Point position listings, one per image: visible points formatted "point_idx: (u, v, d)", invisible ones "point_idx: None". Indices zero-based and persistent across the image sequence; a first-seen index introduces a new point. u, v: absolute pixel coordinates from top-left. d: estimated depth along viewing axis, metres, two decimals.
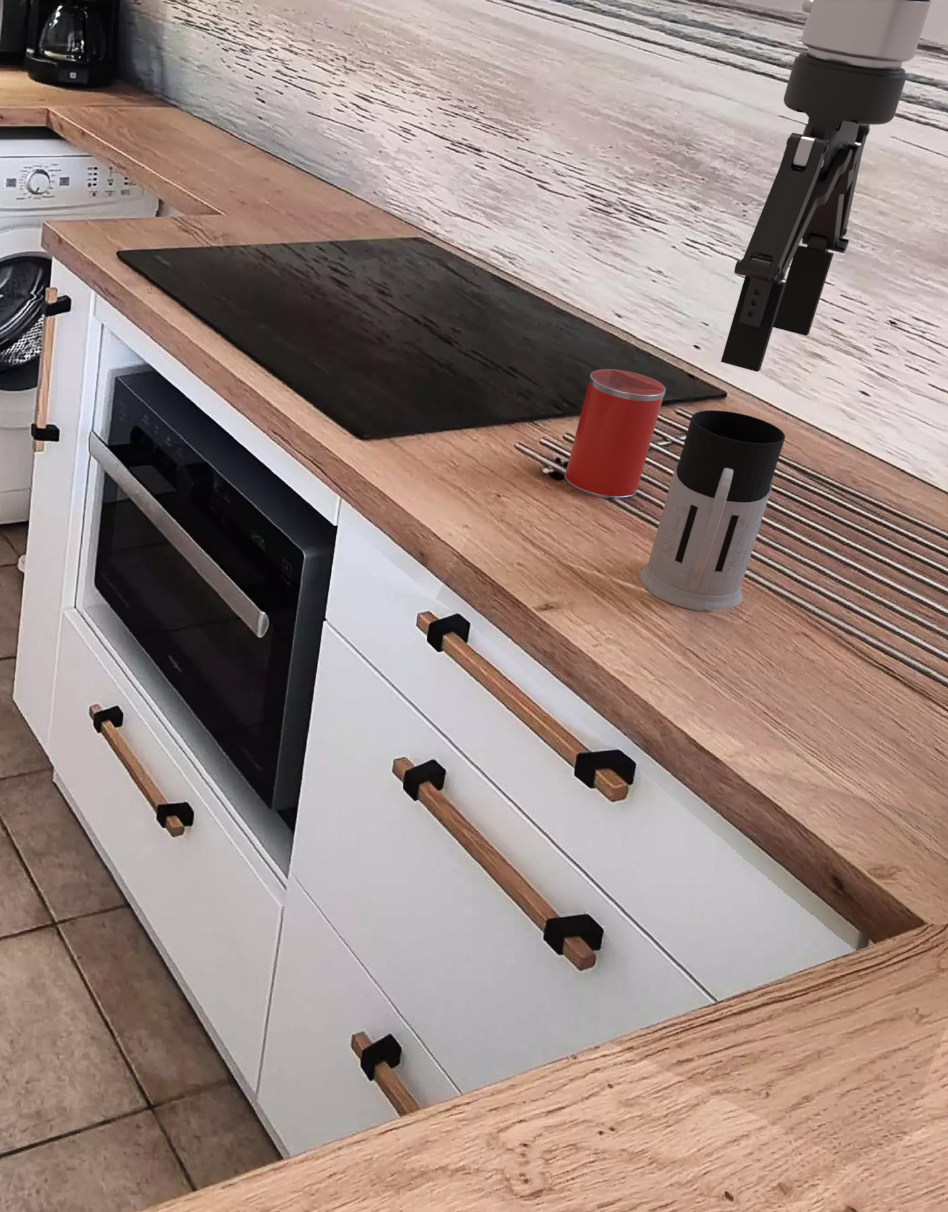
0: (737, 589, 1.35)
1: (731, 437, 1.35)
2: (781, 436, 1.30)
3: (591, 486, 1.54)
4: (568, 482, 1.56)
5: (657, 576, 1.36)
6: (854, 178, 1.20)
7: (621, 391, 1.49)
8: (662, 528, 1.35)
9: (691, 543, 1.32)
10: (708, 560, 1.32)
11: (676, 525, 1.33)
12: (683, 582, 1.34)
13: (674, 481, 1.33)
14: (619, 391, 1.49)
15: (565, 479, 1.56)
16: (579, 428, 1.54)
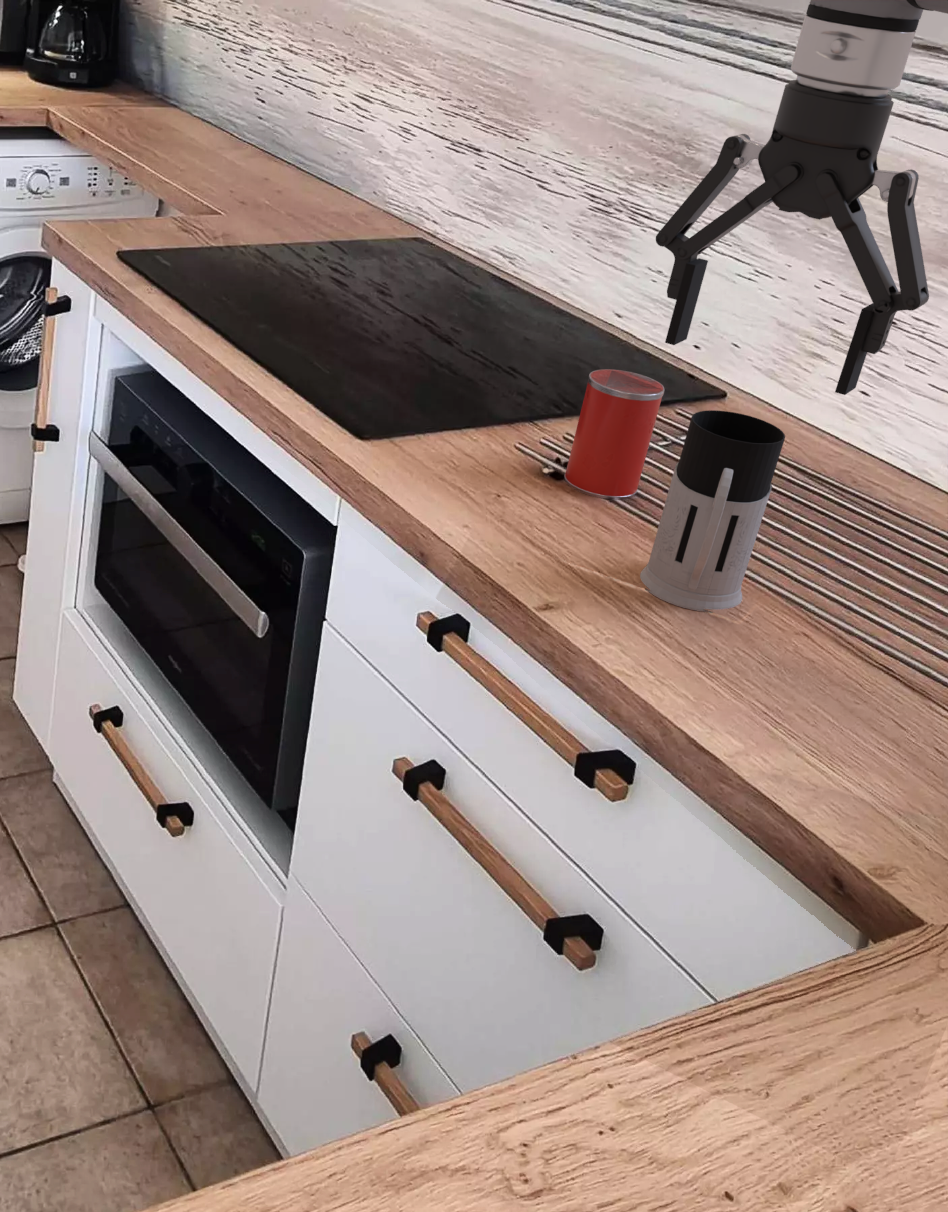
0: (737, 589, 1.35)
1: (731, 437, 1.35)
2: (781, 436, 1.30)
3: (591, 486, 1.54)
4: (567, 482, 1.56)
5: (657, 576, 1.36)
6: None
7: (620, 391, 1.49)
8: (662, 528, 1.35)
9: (691, 543, 1.32)
10: (708, 560, 1.32)
11: (676, 525, 1.33)
12: (683, 582, 1.34)
13: (674, 481, 1.33)
14: (618, 391, 1.49)
15: (565, 479, 1.56)
16: (578, 428, 1.54)
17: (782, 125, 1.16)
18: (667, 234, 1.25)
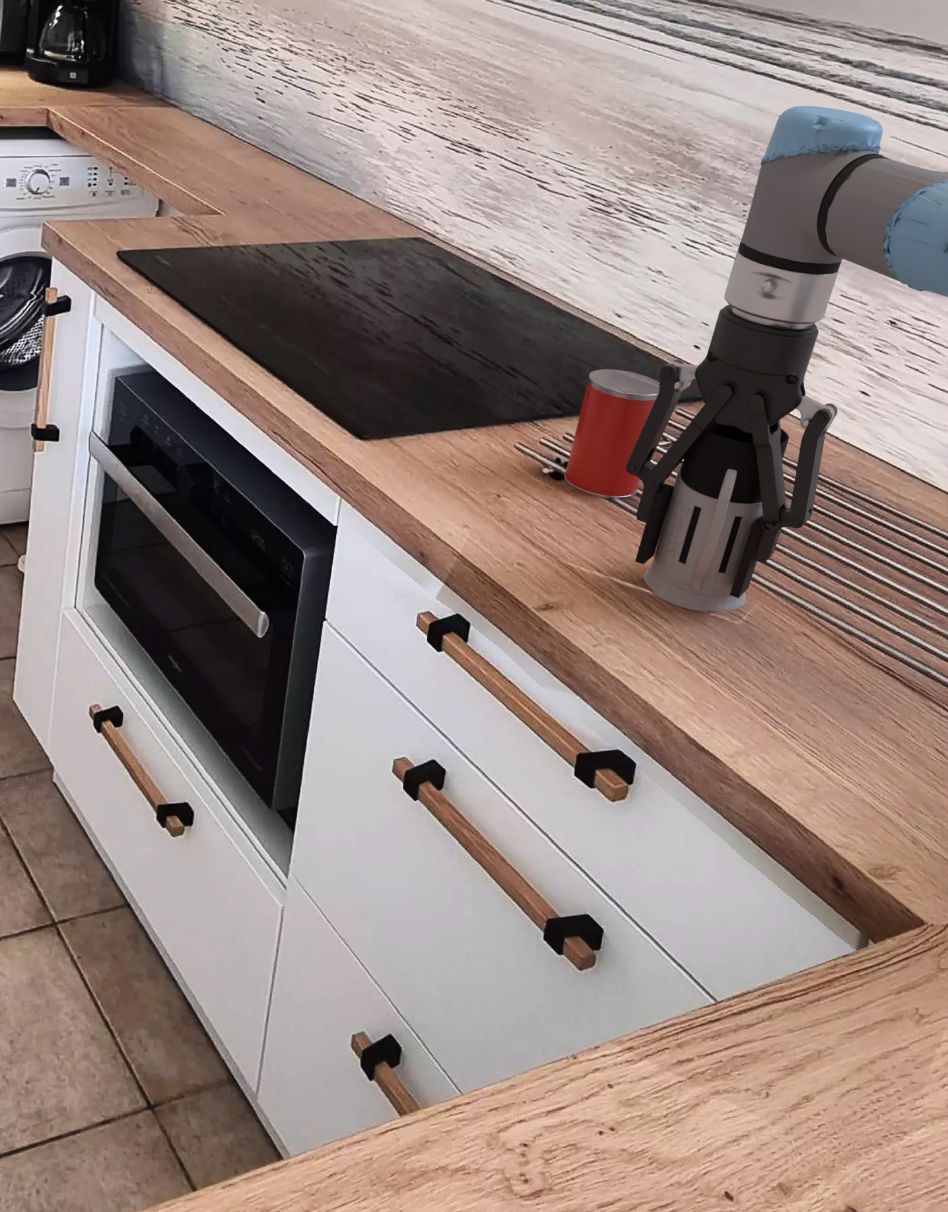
0: None
1: (735, 438, 1.35)
2: (785, 437, 1.30)
3: (591, 486, 1.54)
4: (567, 482, 1.56)
5: (661, 578, 1.36)
6: None
7: (620, 391, 1.49)
8: (666, 529, 1.35)
9: (694, 544, 1.32)
10: (711, 561, 1.32)
11: (680, 526, 1.33)
12: (686, 583, 1.33)
13: (678, 482, 1.33)
14: (618, 391, 1.49)
15: (565, 479, 1.56)
16: (578, 428, 1.54)
17: (717, 350, 1.24)
18: (635, 463, 1.33)
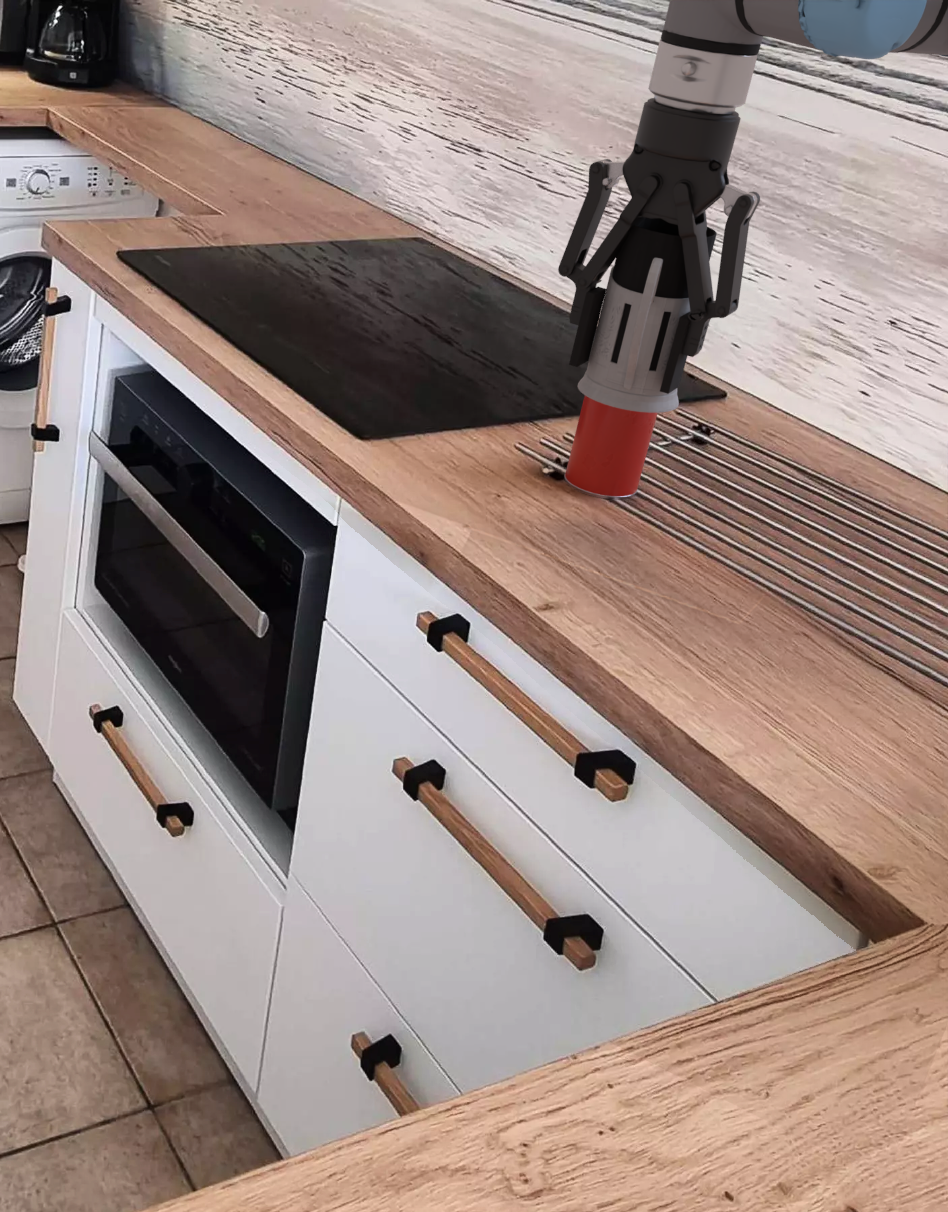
0: (672, 391, 1.37)
1: None
2: (713, 234, 1.33)
3: (591, 486, 1.54)
4: (567, 482, 1.56)
5: (594, 380, 1.38)
6: None
7: None
8: (598, 331, 1.37)
9: (625, 342, 1.34)
10: (642, 359, 1.34)
11: (611, 326, 1.35)
12: (618, 383, 1.36)
13: (609, 283, 1.35)
14: None
15: (565, 479, 1.56)
16: (578, 428, 1.54)
17: (642, 140, 1.27)
18: (567, 264, 1.35)
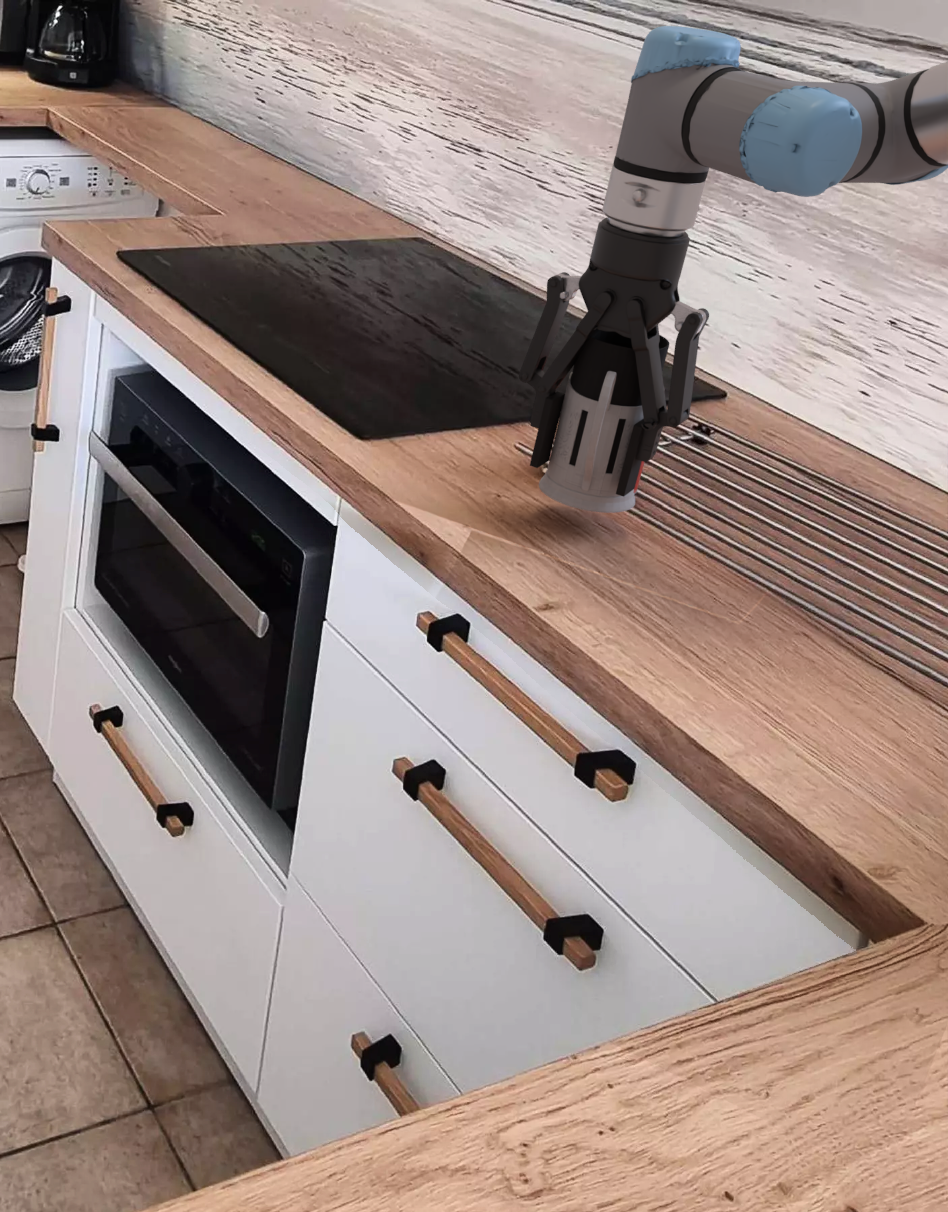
0: None
1: None
2: (666, 344, 1.39)
3: None
4: None
5: (554, 481, 1.44)
6: None
7: None
8: (558, 434, 1.43)
9: (583, 446, 1.40)
10: (599, 462, 1.40)
11: (569, 430, 1.41)
12: (577, 484, 1.42)
13: (568, 389, 1.41)
14: None
15: None
16: None
17: (596, 259, 1.33)
18: (527, 371, 1.41)
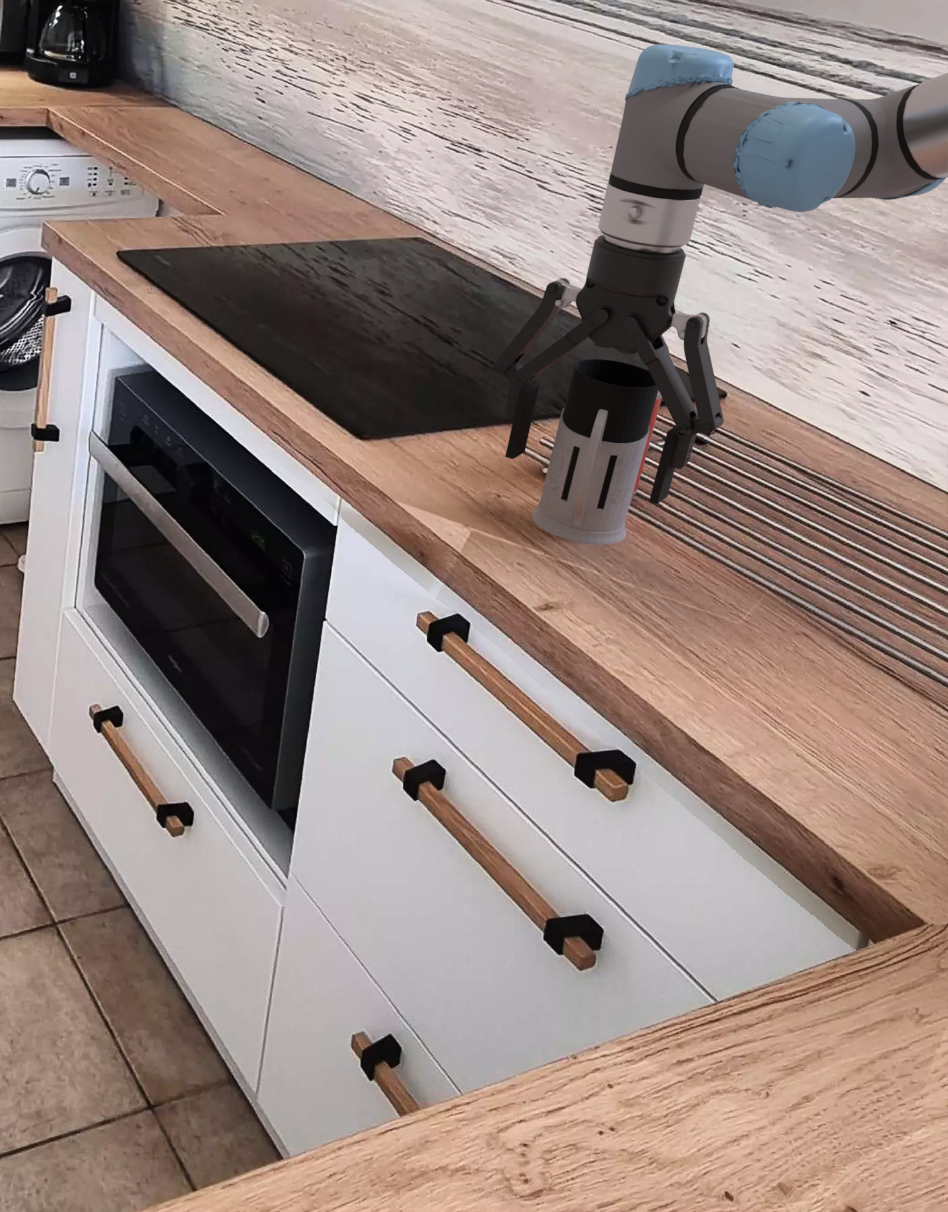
0: (620, 526, 1.44)
1: (615, 384, 1.45)
2: None
3: None
4: None
5: (546, 515, 1.45)
6: None
7: None
8: (550, 469, 1.44)
9: (574, 482, 1.42)
10: (590, 498, 1.42)
11: (561, 465, 1.43)
12: (568, 519, 1.43)
13: (560, 424, 1.43)
14: None
15: None
16: None
17: (593, 276, 1.33)
18: (502, 364, 1.42)
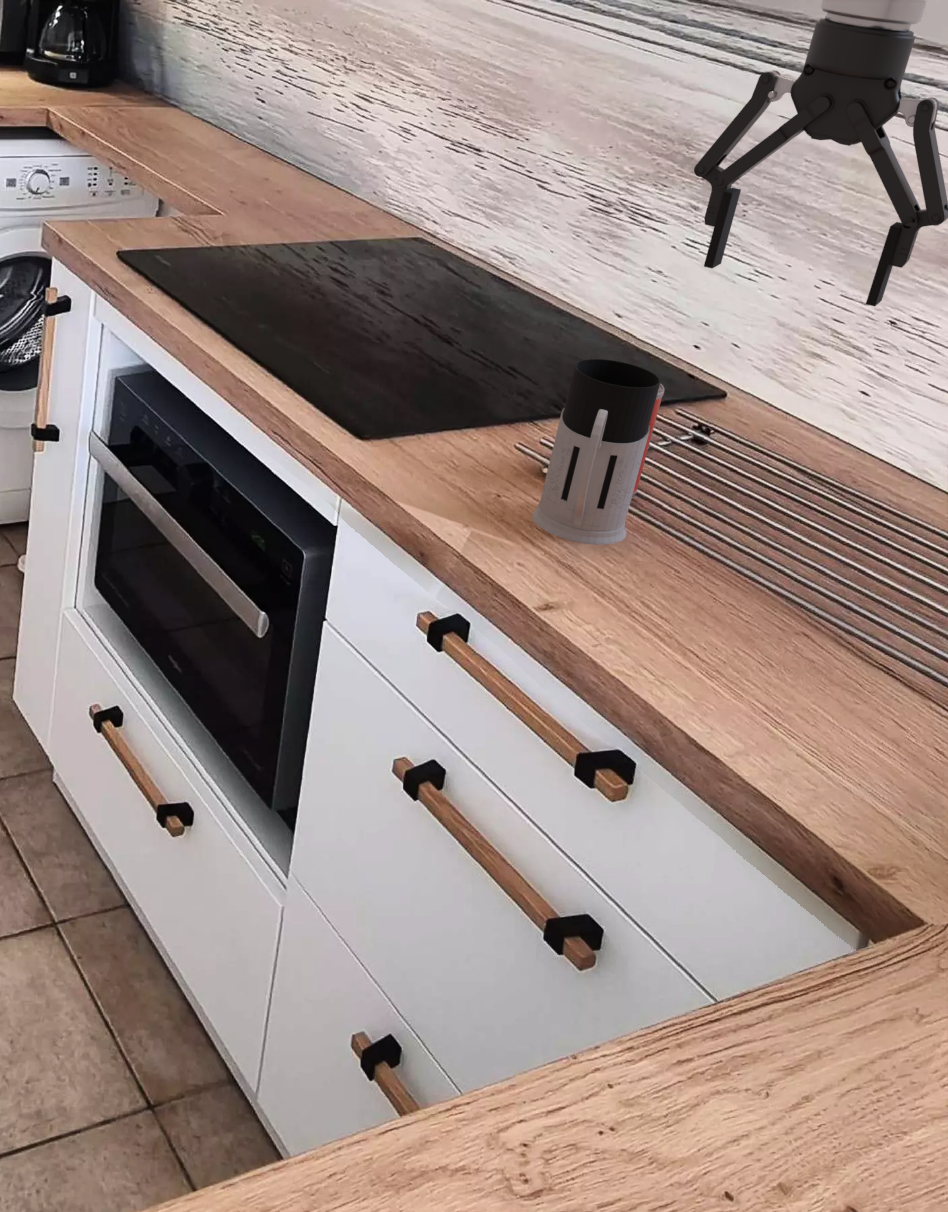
0: (620, 526, 1.44)
1: (615, 384, 1.45)
2: (657, 382, 1.40)
3: None
4: None
5: (546, 515, 1.45)
6: None
7: None
8: (550, 469, 1.44)
9: (574, 482, 1.42)
10: (590, 498, 1.42)
11: (561, 465, 1.43)
12: (568, 519, 1.43)
13: (560, 424, 1.43)
14: None
15: None
16: None
17: (816, 59, 1.27)
18: (705, 165, 1.35)
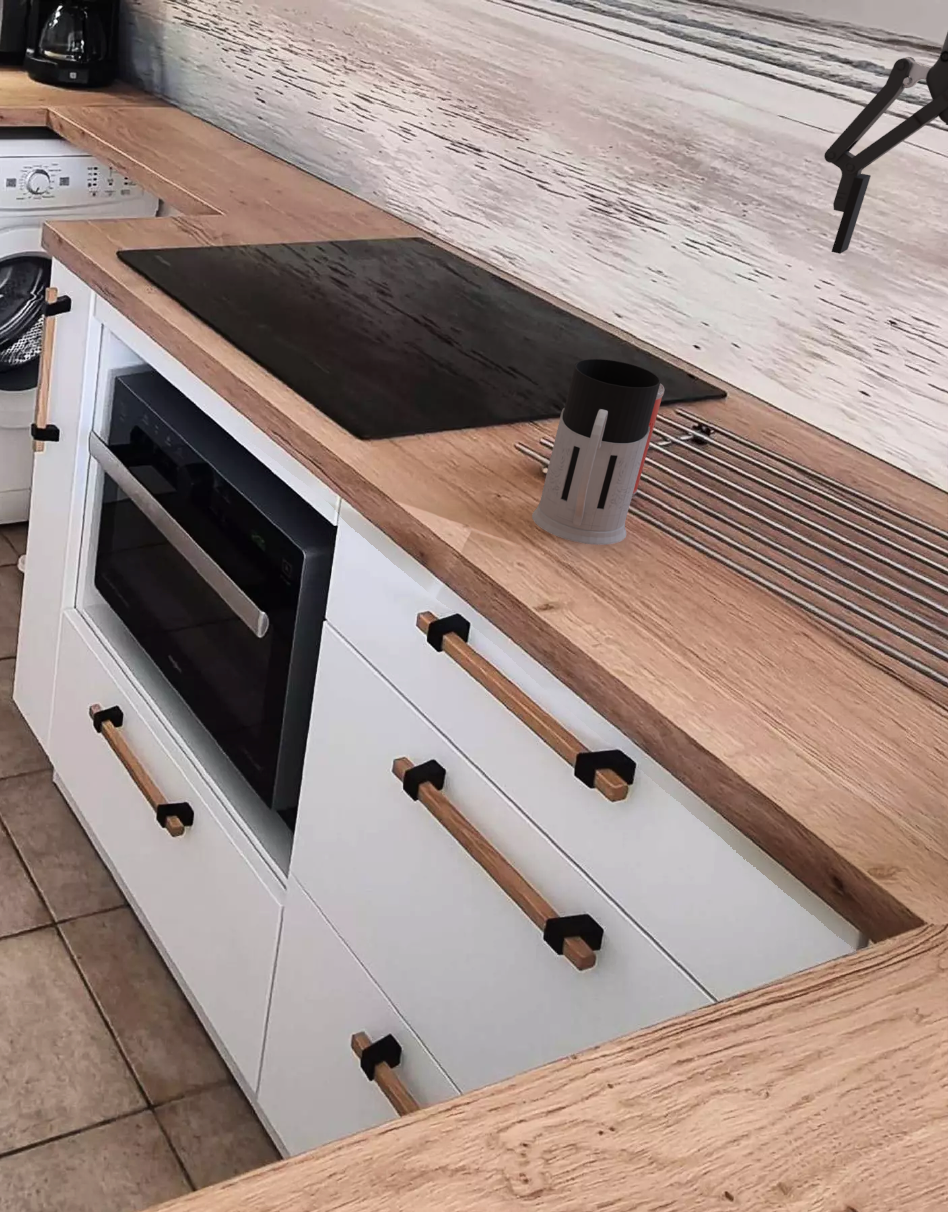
0: (620, 526, 1.44)
1: (615, 384, 1.45)
2: (657, 382, 1.40)
3: None
4: None
5: (546, 515, 1.45)
6: None
7: None
8: (550, 469, 1.44)
9: (574, 482, 1.42)
10: (590, 498, 1.42)
11: (561, 465, 1.43)
12: (568, 519, 1.43)
13: (560, 424, 1.43)
14: None
15: None
16: None
17: None
18: (836, 151, 1.36)
